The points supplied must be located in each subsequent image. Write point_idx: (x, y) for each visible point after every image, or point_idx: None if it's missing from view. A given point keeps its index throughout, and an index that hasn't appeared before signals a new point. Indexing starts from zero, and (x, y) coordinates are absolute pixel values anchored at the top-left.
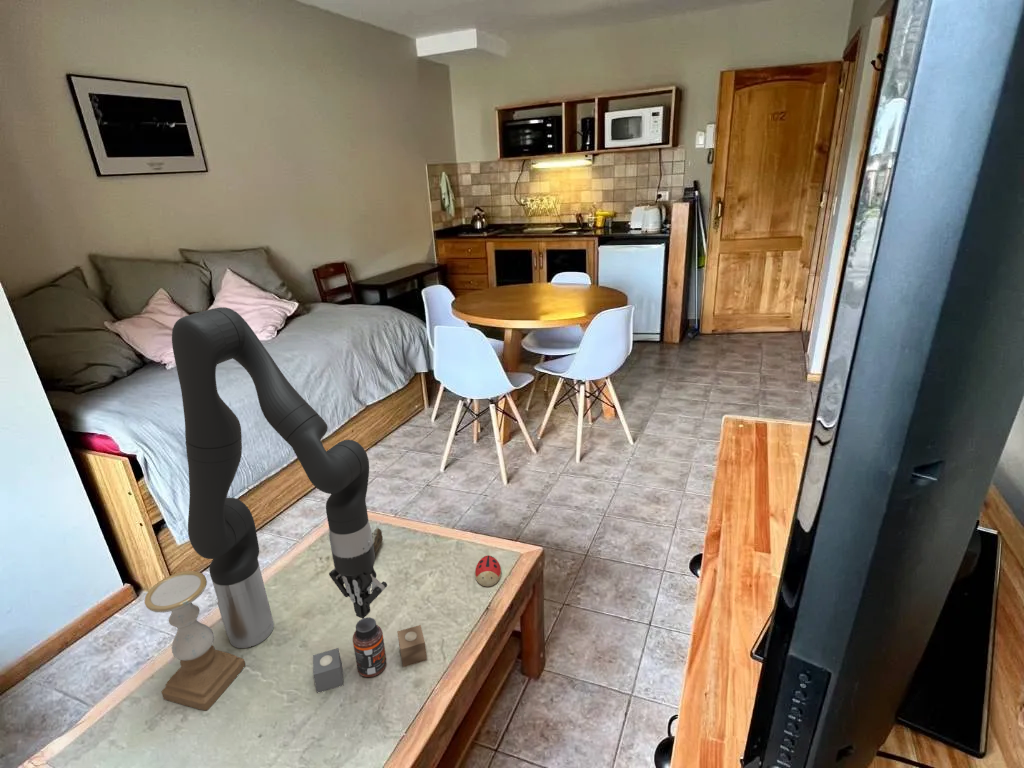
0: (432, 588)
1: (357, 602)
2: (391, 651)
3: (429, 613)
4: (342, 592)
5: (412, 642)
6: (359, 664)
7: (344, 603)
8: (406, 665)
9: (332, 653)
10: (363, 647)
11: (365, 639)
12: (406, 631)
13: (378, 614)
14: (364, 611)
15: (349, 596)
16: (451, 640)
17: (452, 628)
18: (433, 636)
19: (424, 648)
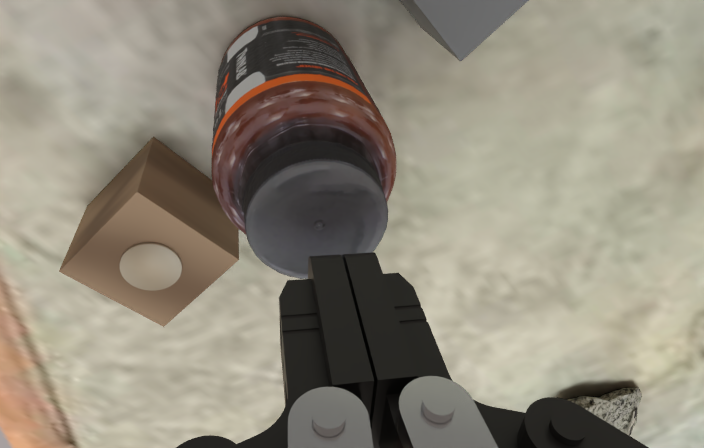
0: None
1: (385, 392)
2: None
3: (245, 352)
4: (620, 444)
5: (116, 246)
6: (303, 36)
7: (570, 257)
8: (143, 149)
9: (472, 16)
10: (266, 92)
11: (272, 139)
12: (196, 277)
13: (422, 275)
14: (291, 326)
15: (510, 417)
16: (74, 310)
17: (116, 345)
18: None
19: (71, 244)
